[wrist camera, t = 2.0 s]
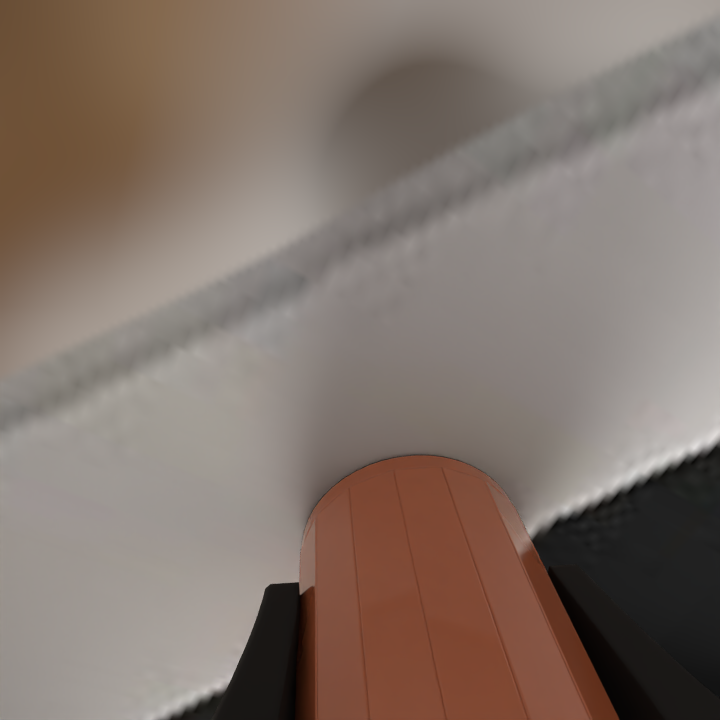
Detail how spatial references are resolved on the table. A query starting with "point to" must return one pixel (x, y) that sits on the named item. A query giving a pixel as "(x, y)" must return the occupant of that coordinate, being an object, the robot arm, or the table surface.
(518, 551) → the cup
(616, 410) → the table surface
